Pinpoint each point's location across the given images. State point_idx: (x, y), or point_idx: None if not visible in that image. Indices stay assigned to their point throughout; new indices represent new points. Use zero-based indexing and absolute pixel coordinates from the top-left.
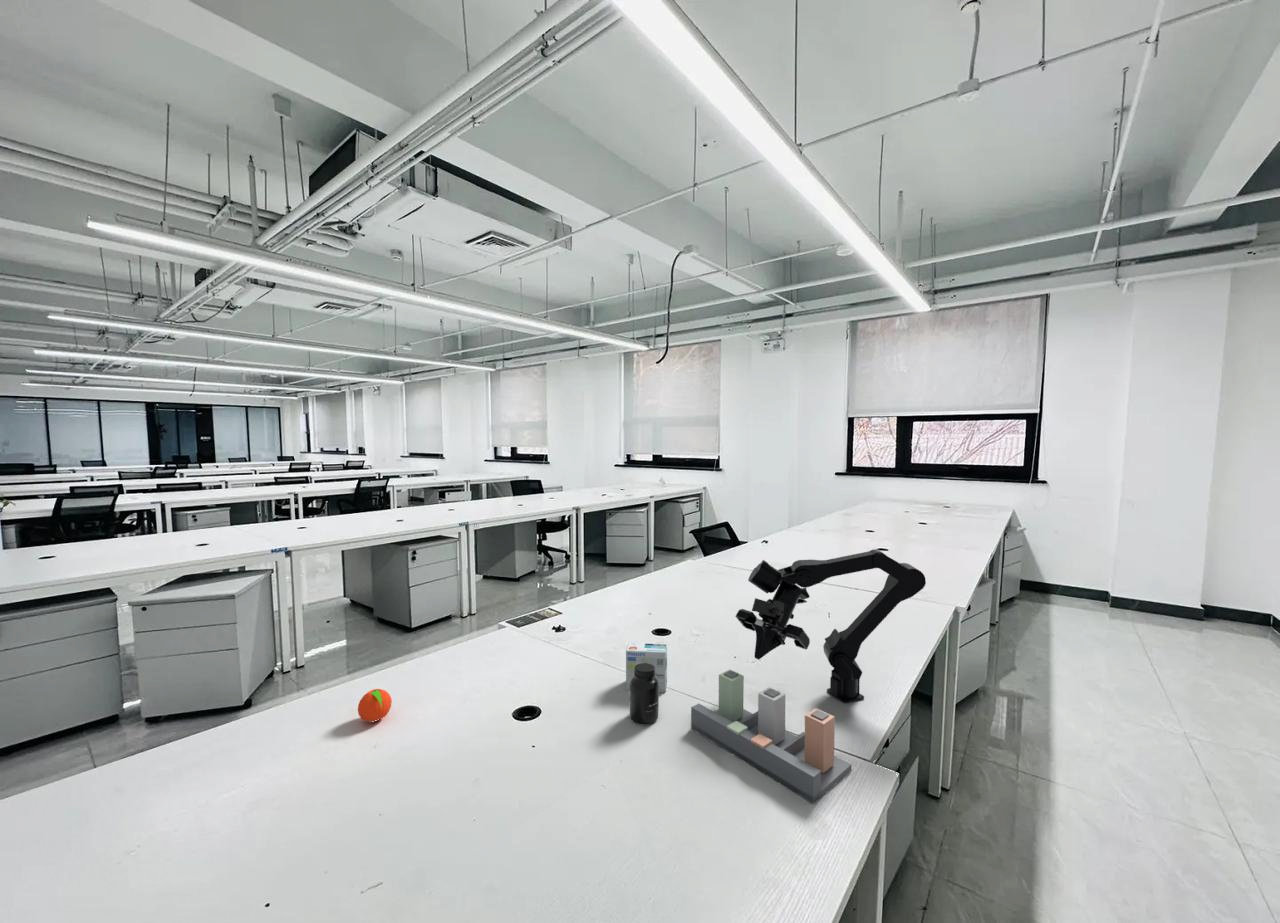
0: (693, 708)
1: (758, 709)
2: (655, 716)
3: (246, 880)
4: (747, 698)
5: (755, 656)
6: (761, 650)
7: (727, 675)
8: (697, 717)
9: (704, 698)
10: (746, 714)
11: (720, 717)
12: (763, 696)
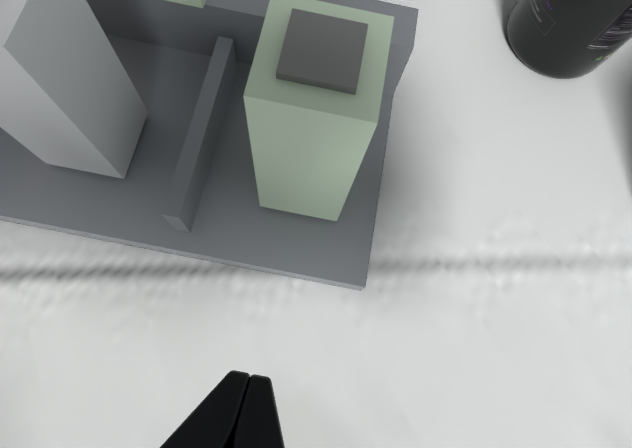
0: (405, 6)
1: (100, 28)
2: (515, 20)
3: None
4: (343, 425)
5: (254, 375)
6: (172, 440)
7: (333, 18)
8: None
9: (493, 283)
10: (259, 238)
11: None
12: None
